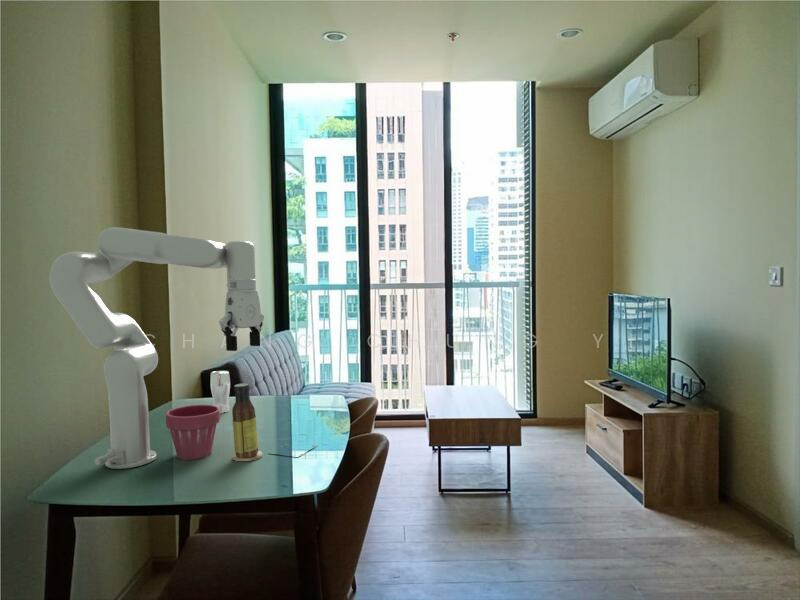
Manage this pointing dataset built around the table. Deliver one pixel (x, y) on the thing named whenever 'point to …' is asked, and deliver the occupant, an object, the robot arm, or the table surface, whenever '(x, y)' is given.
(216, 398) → the beer glass
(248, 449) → the sauce bottle
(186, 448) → the plant pot
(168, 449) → the table surface
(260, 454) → the coaster
